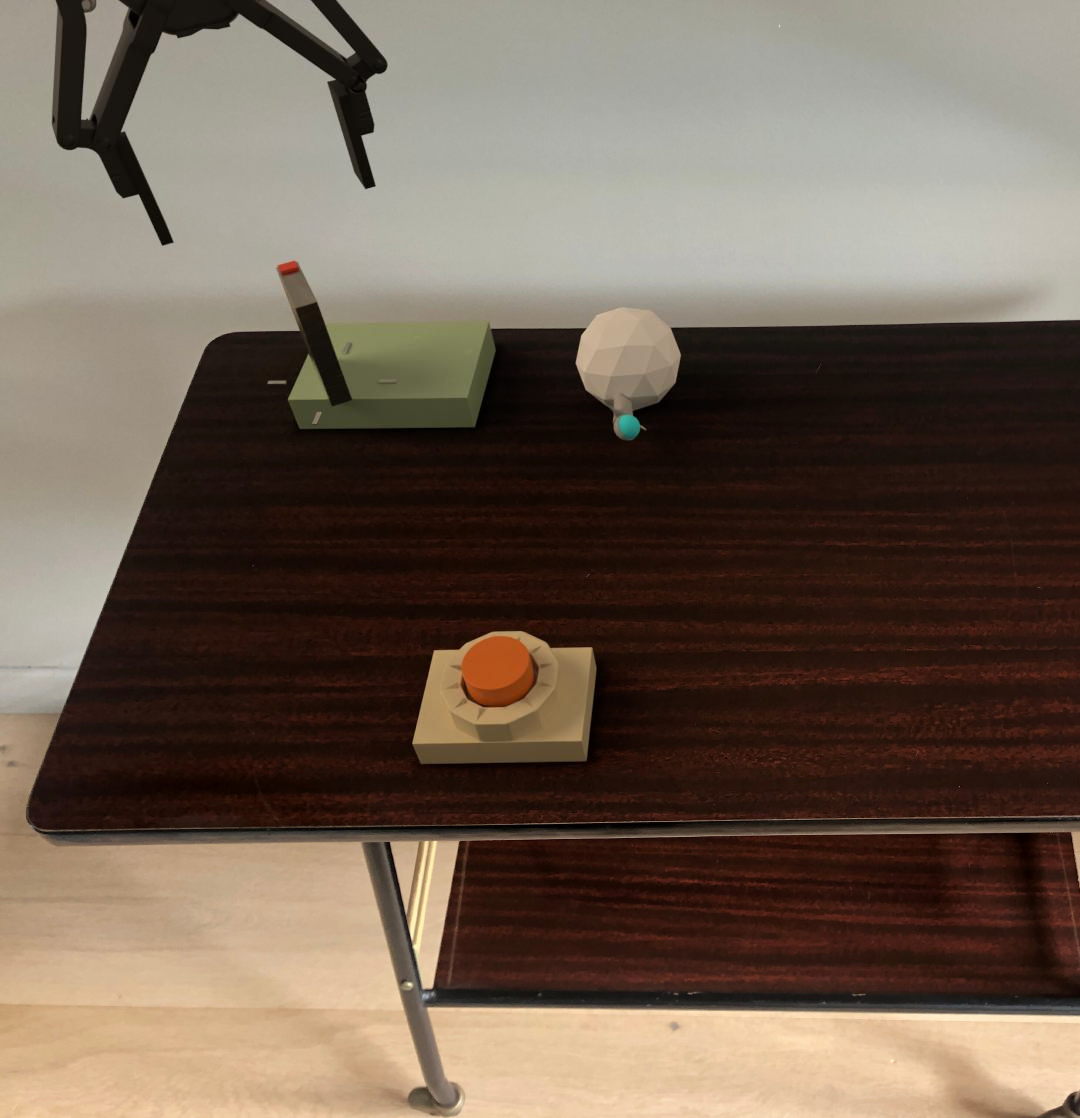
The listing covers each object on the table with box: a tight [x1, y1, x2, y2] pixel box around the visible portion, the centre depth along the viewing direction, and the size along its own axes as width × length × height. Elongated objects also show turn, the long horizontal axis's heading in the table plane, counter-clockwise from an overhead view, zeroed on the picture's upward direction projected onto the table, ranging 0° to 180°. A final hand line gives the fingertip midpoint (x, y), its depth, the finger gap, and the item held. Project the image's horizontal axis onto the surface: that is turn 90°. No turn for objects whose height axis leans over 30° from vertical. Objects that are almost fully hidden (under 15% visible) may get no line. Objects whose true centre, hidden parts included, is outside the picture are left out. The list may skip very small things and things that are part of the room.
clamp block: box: [267, 320, 497, 430], centre depth 91 cm, size 16×13×3 cm
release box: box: [412, 630, 598, 765], centre depth 69 cm, size 10×7×4 cm
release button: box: [461, 636, 534, 707], centre depth 67 cm, size 4×4×2 cm
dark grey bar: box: [275, 260, 352, 406], centre depth 85 cm, size 6×2×9 cm, turn 28°
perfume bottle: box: [575, 306, 682, 441], centre depth 87 cm, size 8×8×12 cm
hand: (267, 207), depth 77 cm, fingers open, 13 cm apart
